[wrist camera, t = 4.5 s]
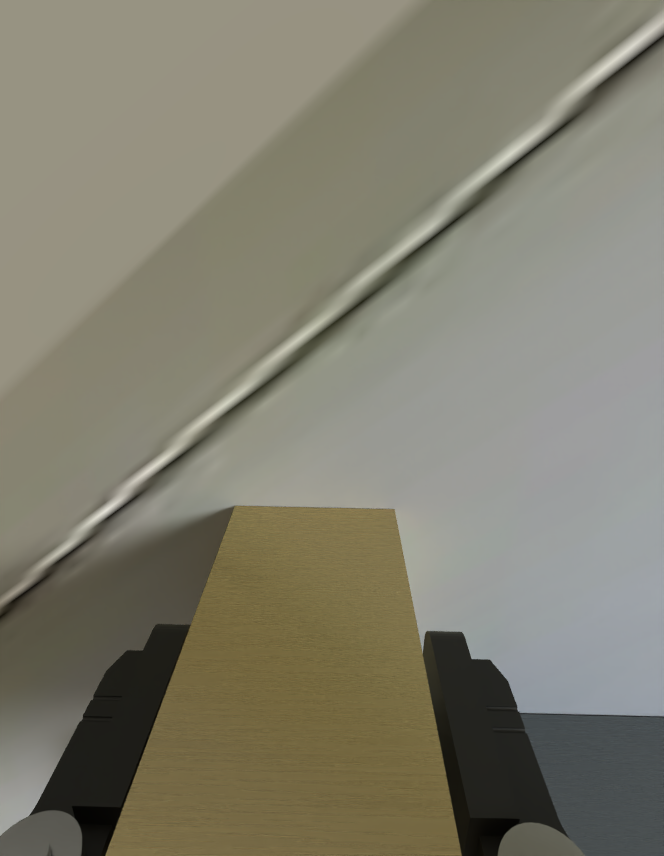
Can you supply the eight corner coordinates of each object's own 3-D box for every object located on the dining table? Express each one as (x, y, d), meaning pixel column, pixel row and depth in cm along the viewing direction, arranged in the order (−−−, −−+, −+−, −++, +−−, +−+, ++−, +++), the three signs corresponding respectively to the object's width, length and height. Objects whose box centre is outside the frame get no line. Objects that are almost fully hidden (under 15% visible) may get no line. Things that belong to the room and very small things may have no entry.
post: (235, 505, 13) (-53, 1285, 3) (394, 509, 13) (548, 1305, 3) (243, 629, 14) (59, 1404, 5) (385, 633, 14) (475, 1418, 5)
